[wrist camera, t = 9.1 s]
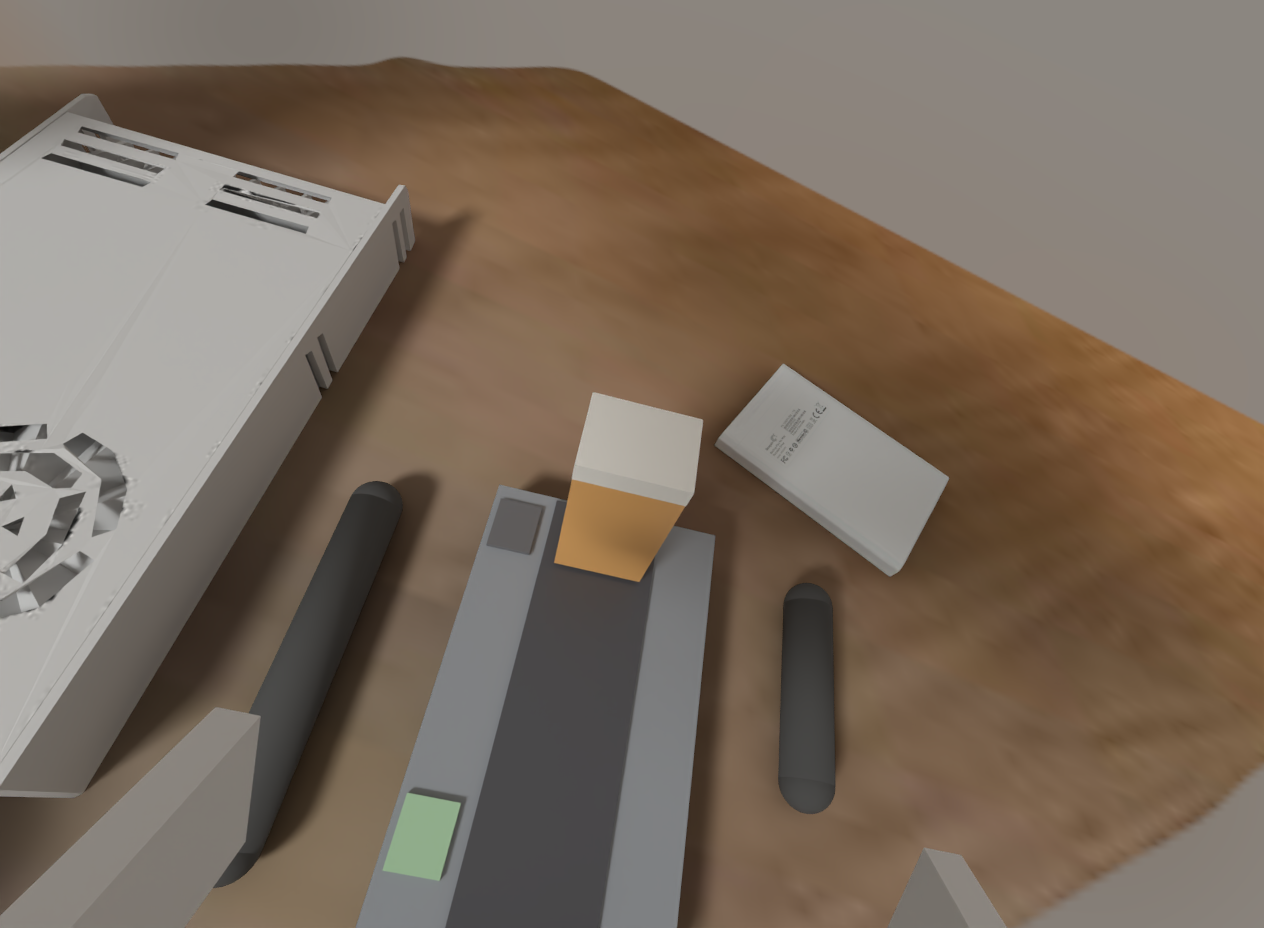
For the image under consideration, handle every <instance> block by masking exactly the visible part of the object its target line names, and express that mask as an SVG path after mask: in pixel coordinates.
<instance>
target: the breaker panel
mask: <svg viewBox="0 0 1264 928" xmlns="http://www.w3.org/2000/svg"><path fill="white" fill-rule="evenodd" d="M566 505H567V500H562V499H558V498H554V497H550V496H545V495H541V494H537V493H533V492H528V491H524V490H520V489H516V488H511V487H507V486H503V485H499V488H498V491H497V494H496V497H495V500H494V503H493V506H492V509H491V512H490V515H489V518H488V521H487V525H486V528H485V531H484V534H483V537H482V540H481V543H480V546H479V549H478V552H477V555H476V558H475V561H474V565H473V568H472V571H471V574H470V577H469V580H468V583H467V586H466V589H465V592H464V595H463V598H462V602H461V605H460V608H459V611H458V614H457V617H456V620H455V623H454V626H453V629H452V632H451V635H450V638H449V642H448V645H447V648H446V651H445V654H444V657H443V660H442V663H441V666H440V669H439V672H438V675H437V679H436V682H435V685H434V688H433V691H432V694H431V697H430V700H429V703H428V706H427V709H426V712H425V715H424V719H423V722H422V725H421V728H420V731H419V734H418V737H417V740H416V743H415V746H414V749H413V752H412V756H411V759H410V762H409V765H408V768H407V771H406V774H405V777H404V780H403V783H402V786H401V789H400V792H399V796H398V799H397V802H396V805H395V808H394V811H393V814H392V817H391V820H390V823H389V826H388V829H387V833H386V836H385V839H384V842H383V845H382V848H381V851H380V854H379V857H378V860H377V863H376V866H375V869H374V873H373V876H372V879H371V882H370V885H369V888H368V891H367V894H366V897H365V900H364V903H363V906H362V910H361V913H360V916H359V919H358V922H357V925H356V928H677V922H678V912H679V902H680V891H681V881H682V871H683V861H684V851H685V840H686V830H687V820H688V810H689V800H690V789H691V779H692V769H693V759H694V749H695V738H696V728H697V718H698V708H699V698H700V687H701V677H702V667H703V657H704V646H705V636H706V626H707V616H708V606H709V595H710V585H711V575H712V565H713V555H714V544H715V535H711V534H707V533H703V532H698V531H694V530H690V529H686V528H681V527H677V526H673V527H672V529H671V531H670V532H669V534H668V536H667V537H666V539H665V541H664V542H663V544H662V545H661V547H660V549H659V550H658V552H657V554H656V555H655V557H654V559H653V560H652V562H651V564H650V565H649V567H648V568H647V570H646V572H645V573H644V575H643V577H642V578H641V580H640V582H637V581H632V580H628V579H623V578H619V577H615V576H610V575H606V574H601V573H597V572H592V571H588V570H584V569H579V568H575V567H570V566H566V565H562V564H557V563H554V561H555V556H556V552H557V547H558V542H559V538H560V533H561V528H562V524H563V519H564V514H565V510H566Z"/></svg>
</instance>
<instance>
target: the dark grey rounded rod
mask: <svg viewBox="0 0 1264 928" xmlns="http://www.w3.org/2000/svg"><path fill="white" fill-rule="evenodd" d="M402 507H403V504H402V498H401V496H400V494H399V492H398V491H397V490H396V489H395V488H394V487H393V486H391V485H390V484H388V483H385V482H380V481H373V482H368V483H365V484H363V485H361V486H360V487H358V488H357V489H356V490H355V491H354V492H353V494H352V495H351V497H350V499H349V501H348V504H347V506H346V508H345V510H344V512H343V514H342V516H341V518H340V521H339V523H338V525H337V527H336V529H335V531H334V533H333V535H332V537H331V540H330V542H329V544H328V546H327V548H326V550H325V552H324V554H323V557H322V559H321V561H320V563H319V565H318V567H317V569H316V571H315V574H314V576H313V578H312V580H311V582H310V584H309V586H308V588H307V591H306V593H305V595H304V597H303V599H302V601H301V603H300V605H299V607H298V610H297V612H296V614H295V616H294V618H293V620H292V622H291V624H290V627H289V629H288V631H287V633H286V635H285V637H284V639H283V641H282V644H281V646H280V648H279V650H278V652H277V654H276V656H275V658H274V661H273V663H272V665H271V667H270V669H269V671H268V673H267V675H266V677H265V680H264V682H263V684H262V686H261V688H260V690H259V692H258V694H257V697H256V699H255V701H254V703H253V705H252V707H251V709H250V711H249V714H254V715H259V716H261V718H260V726H259V734H258V743H257V751H256V759H255V767H254V776H253V784H252V792H251V801H250V809H249V817H248V825H247V834H246V842H245V843H244V845H243V846H242V847H241V849H240V850H239V852H238V853H237V854H236V856H235V857H234V859H233V860H232V861H231V863H230V864H229V866H228V867H227V868H226V870H225V871H224V873H223V874H222V876H221V877H220V878H219V880H218V881H217V883H216V884H215V885H214V887H213V888H217V887H223V886H226V885H228V884H231V883H233V882H235V881H236V880H238V879H240V878H241V877H242V876H244V875H245V874H246V873H247V872H248V871H249V870H250V869H251V868H252V867H253V865H254V864H255V862H256V861H257V859H258V858H259V856H260V854H261V852H262V849H263V847H264V844H265V842H266V840H267V837H268V835H269V832H270V830H271V828H272V825H273V823H274V820H275V818H276V815H277V813H278V811H279V808H280V806H281V803H282V801H283V798H284V796H285V794H286V791H287V789H288V786H289V784H290V782H291V779H292V777H293V774H294V772H295V769H296V767H297V765H298V762H299V760H300V757H301V755H302V752H303V750H304V748H305V745H306V743H307V740H308V738H309V736H310V733H311V731H312V728H313V726H314V723H315V721H316V719H317V716H318V714H319V711H320V709H321V707H322V704H323V702H324V699H325V697H326V694H327V692H328V690H329V687H330V685H331V682H332V680H333V677H334V675H335V673H336V670H337V668H338V665H339V663H340V661H341V658H342V656H343V653H344V651H345V648H346V646H347V644H348V641H349V639H350V636H351V634H352V631H353V629H354V627H355V624H356V622H357V619H358V617H359V615H360V612H361V610H362V607H363V605H364V602H365V600H366V598H367V595H368V593H369V590H370V588H371V586H372V583H373V581H374V578H375V576H376V573H377V571H378V569H379V566H380V564H381V561H382V559H383V556H384V554H385V552H386V549H387V547H388V544H389V542H390V540H391V537H392V535H393V532H394V530H395V527H396V525H397V523H398V520H399V518H400V515H401V512H402Z"/></svg>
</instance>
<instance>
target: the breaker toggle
mask: <svg viewBox="0 0 1264 928" xmlns="http://www.w3.org/2000/svg"><path fill="white" fill-rule="evenodd" d="M702 426H703V420H702V419H698V418H694V417H690V416H686V415H682V414H678V413H674V412H670V411H666V410H662V409H658V408H654V407H650V406H646V405H642V404H638V403H634V402H631V401H627V400H623V399H619V398H615V397H611V396H607V395H603V394H599V393H595V392H593V394H592V398H591V402H590V406H589V410H588V414H587V418H586V422H585V425H584V429H583V433H582V437H581V441H580V445H579V449H578V453H577V457H576V461H575V465H574V470H573V474H572V482H571V487H570V491H569V496H568V501H567V505H566V510H565V514H564V519H563V524H562V528H561V533H560V538H559V542H558V547H557V552H556V556H555V561H554V563H557V564H562V565H566V566H570V567H575V568H579V569H584V570H588V571H592V572H597V573H601V574H606V575H610V576H615V577H619V578H623V579H628V580H632V581H637V582H640V580H641V578H642V577H643V575H644V573H645V572H646V570H647V568H648V567H649V565H650V564H651V562H652V560H653V559H654V557H655V555H656V554H657V552H658V550H659V549H660V547H661V545H662V544H663V542H664V541H665V539H666V537H667V536H668V534H669V532H670V531H671V529H672V527H673V526H674V524H675V523H676V521H677V519H678V518H679V516H680V514H681V513H682V511H683V509H684V508H685V506H687V504H688V503H689V501H690V499H691V498H692V496H693V494H694V491H695V483H696V475H697V467H698V459H699V450H700V442H701V434H702Z"/></svg>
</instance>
